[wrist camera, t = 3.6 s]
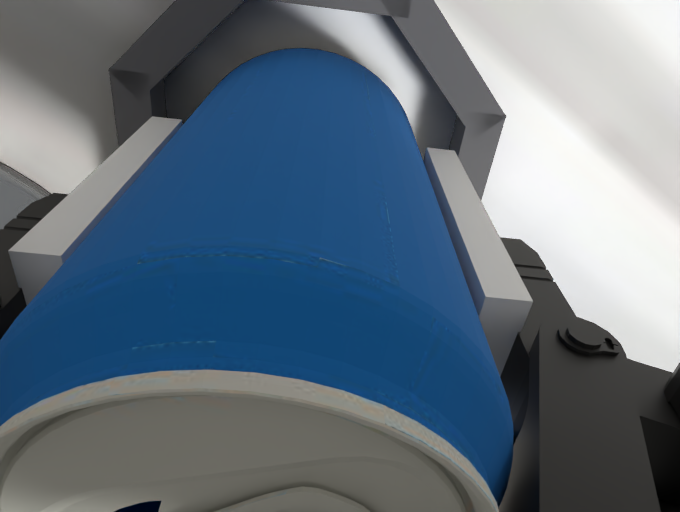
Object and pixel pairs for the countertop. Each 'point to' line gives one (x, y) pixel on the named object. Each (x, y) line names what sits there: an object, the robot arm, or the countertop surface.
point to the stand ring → (400, 3)
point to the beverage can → (261, 324)
